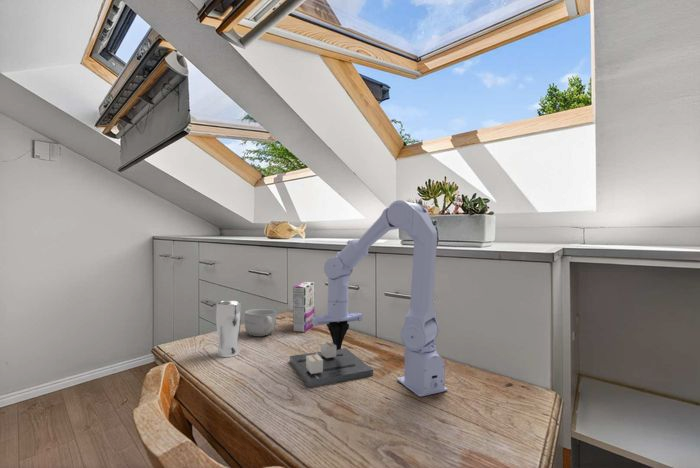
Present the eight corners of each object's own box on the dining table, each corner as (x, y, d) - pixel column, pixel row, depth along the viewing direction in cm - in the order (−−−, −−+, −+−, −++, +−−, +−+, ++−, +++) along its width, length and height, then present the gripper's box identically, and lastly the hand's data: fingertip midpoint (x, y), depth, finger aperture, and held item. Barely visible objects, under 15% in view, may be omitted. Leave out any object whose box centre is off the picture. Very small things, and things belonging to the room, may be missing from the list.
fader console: (373, 375, 85) (373, 369, 85) (308, 387, 78) (308, 381, 78) (345, 352, 100) (345, 347, 100) (289, 361, 93) (289, 355, 93)
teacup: (242, 331, 120) (242, 309, 120) (273, 328, 125) (273, 306, 125) (248, 343, 107) (248, 318, 107) (281, 339, 112) (282, 315, 112)
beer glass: (244, 350, 101) (245, 300, 101) (234, 358, 95) (235, 305, 94) (222, 349, 102) (223, 299, 102) (210, 357, 95) (211, 304, 95)
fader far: (336, 356, 92) (336, 345, 92) (326, 358, 91) (326, 346, 91) (330, 351, 96) (331, 340, 96) (321, 353, 94) (321, 342, 94)
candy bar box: (302, 323, 131) (303, 281, 131) (314, 324, 130) (315, 282, 130) (291, 331, 120) (292, 286, 120) (305, 332, 119) (305, 286, 119)
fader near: (322, 372, 82) (322, 359, 82) (311, 374, 81) (311, 361, 81) (317, 365, 86) (317, 353, 85) (306, 367, 84) (306, 355, 84)
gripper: (355, 295, 101) (354, 340, 101) (308, 299, 95) (308, 347, 95) (366, 300, 94) (365, 348, 95) (316, 304, 88) (316, 355, 89)
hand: (337, 348), depth 94 cm, fingers closed
